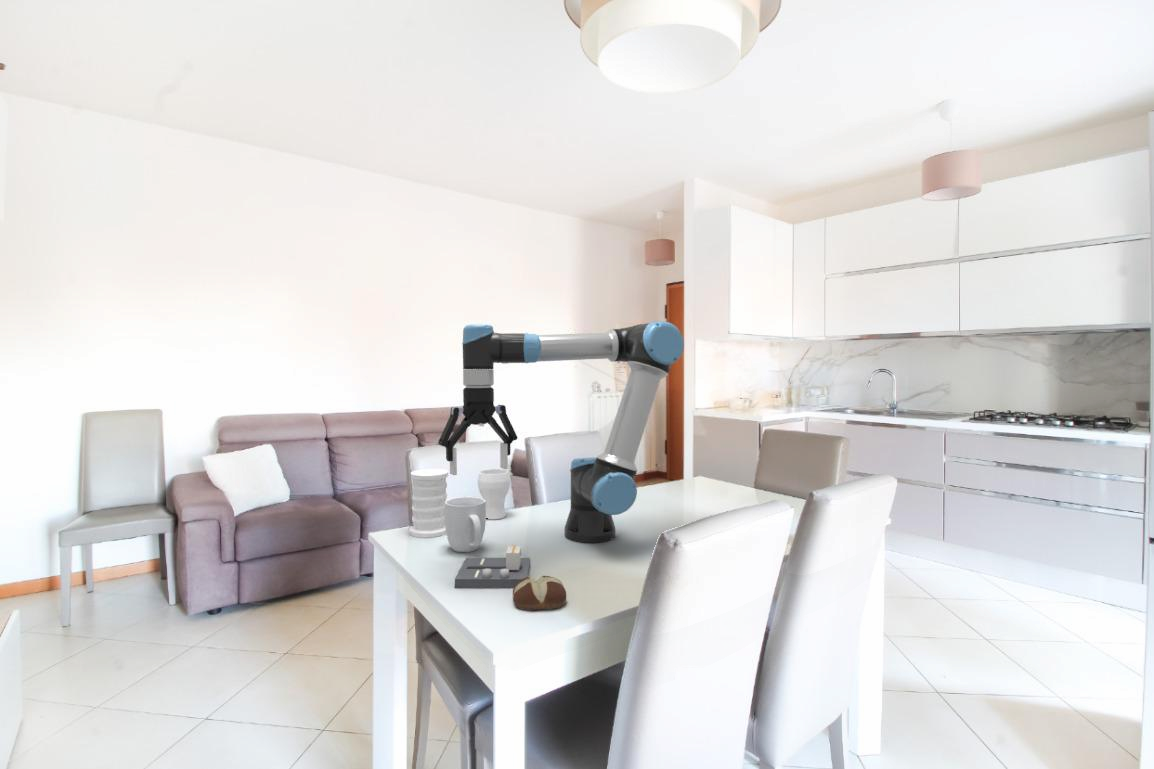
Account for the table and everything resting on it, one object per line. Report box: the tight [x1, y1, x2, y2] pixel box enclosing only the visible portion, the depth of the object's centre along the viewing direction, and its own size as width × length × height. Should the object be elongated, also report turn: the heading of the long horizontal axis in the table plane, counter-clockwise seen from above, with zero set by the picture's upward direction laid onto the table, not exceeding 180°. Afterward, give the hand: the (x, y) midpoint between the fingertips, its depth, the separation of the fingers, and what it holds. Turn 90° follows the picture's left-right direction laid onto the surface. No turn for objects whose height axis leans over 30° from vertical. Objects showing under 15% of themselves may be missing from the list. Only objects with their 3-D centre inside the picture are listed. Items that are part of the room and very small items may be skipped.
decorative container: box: [409, 468, 449, 539], centre depth 165 cm, size 12×12×18 cm
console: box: [454, 557, 531, 589], centre depth 131 cm, size 16×14×4 cm
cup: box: [477, 468, 511, 520], centre depth 182 cm, size 11×11×15 cm
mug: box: [445, 496, 487, 553], centre depth 149 cm, size 15×11×13 cm
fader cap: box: [505, 545, 522, 570], centre depth 131 cm, size 3×5×4 cm, turn 1°
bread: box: [512, 575, 567, 611], centre depth 118 cm, size 11×11×5 cm
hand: (479, 471), depth 138 cm, fingers open, 13 cm apart
